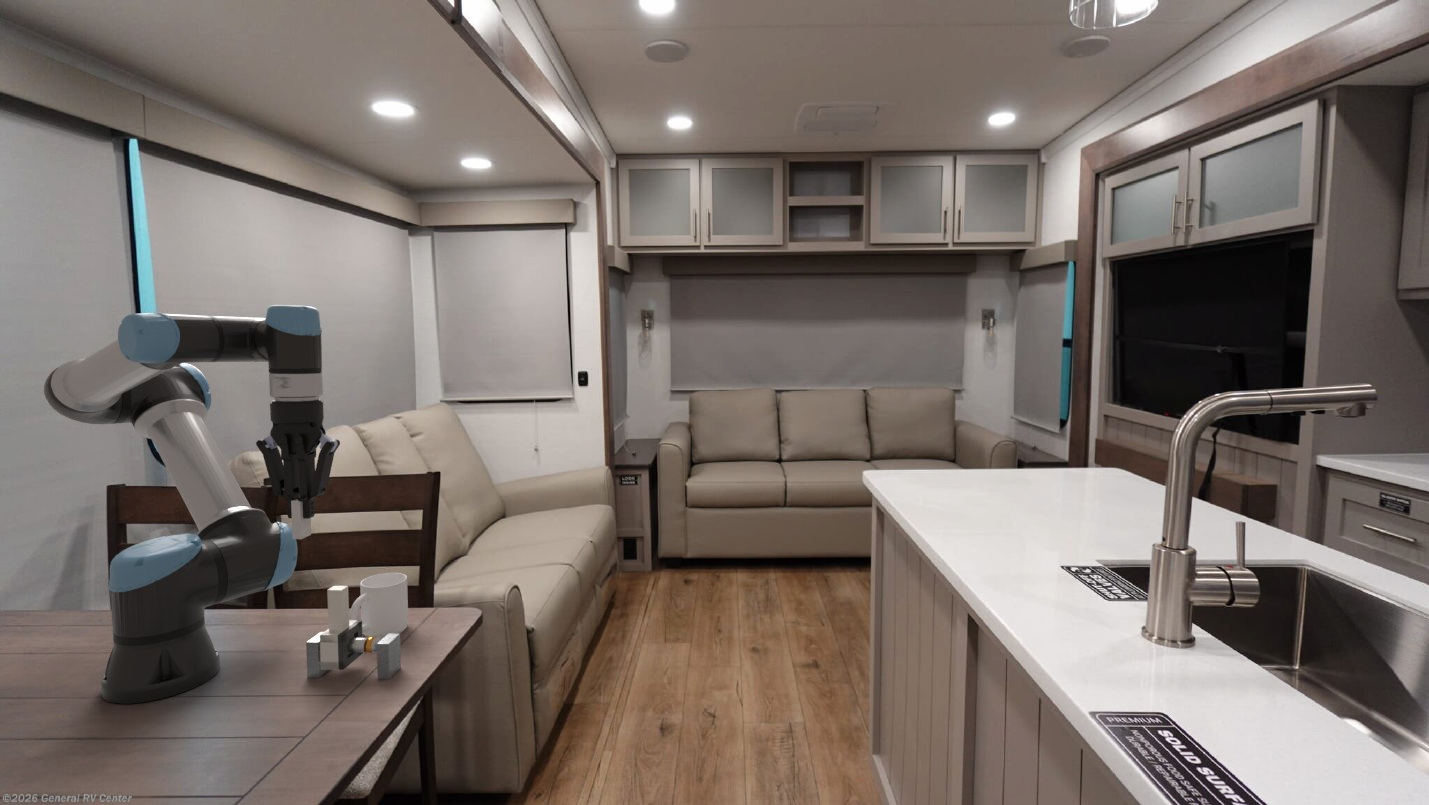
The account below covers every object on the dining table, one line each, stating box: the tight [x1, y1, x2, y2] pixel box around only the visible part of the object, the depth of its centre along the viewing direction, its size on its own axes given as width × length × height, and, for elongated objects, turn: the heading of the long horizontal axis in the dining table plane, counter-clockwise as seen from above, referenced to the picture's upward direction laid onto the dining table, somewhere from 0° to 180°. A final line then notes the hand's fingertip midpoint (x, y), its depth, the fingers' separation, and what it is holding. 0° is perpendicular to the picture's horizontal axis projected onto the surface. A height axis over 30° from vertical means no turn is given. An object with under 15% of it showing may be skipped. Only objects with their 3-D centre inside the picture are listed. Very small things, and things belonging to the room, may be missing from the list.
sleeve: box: [320, 585, 364, 671], centre depth 113 cm, size 4×6×13 cm, turn 179°
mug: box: [349, 572, 409, 638], centre depth 128 cm, size 12×8×10 cm
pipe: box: [305, 631, 402, 680], centre depth 113 cm, size 14×4×6 cm, turn 89°
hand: (302, 536), depth 112 cm, fingers closed
